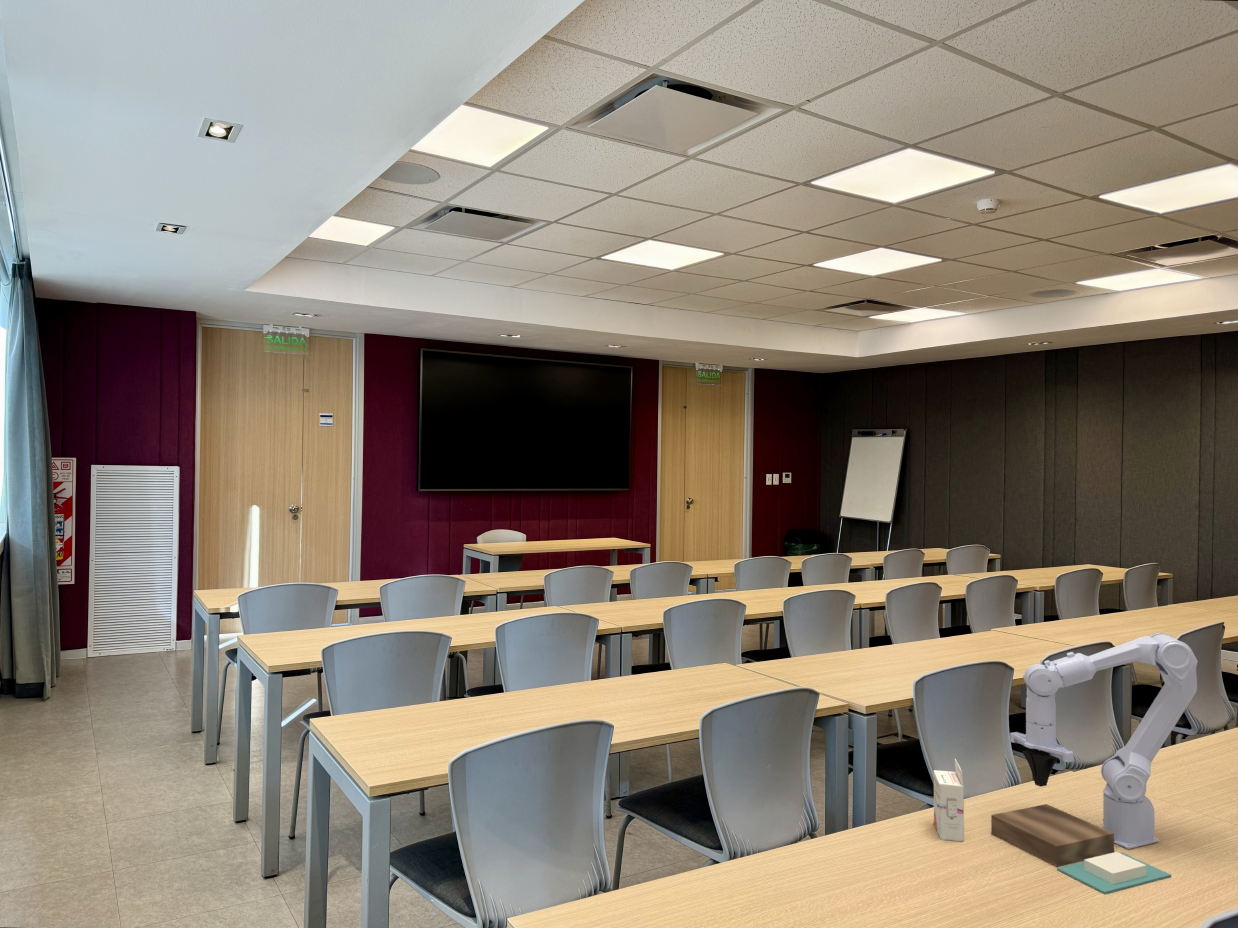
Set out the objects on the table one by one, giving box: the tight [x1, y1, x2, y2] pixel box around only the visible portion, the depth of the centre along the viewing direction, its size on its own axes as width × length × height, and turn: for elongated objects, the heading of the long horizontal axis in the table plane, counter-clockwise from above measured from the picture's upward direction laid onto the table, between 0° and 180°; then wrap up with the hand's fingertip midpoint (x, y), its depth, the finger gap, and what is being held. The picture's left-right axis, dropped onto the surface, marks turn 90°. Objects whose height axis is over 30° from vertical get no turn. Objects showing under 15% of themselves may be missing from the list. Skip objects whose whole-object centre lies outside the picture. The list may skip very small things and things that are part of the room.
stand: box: [990, 804, 1115, 868], centre depth 172 cm, size 16×16×4 cm
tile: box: [1083, 851, 1146, 884], centre depth 158 cm, size 9×6×2 cm, turn 112°
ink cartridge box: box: [933, 758, 965, 842], centre depth 177 cm, size 9×5×15 cm, turn 168°
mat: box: [1056, 852, 1172, 895], centre depth 159 cm, size 18×10×1 cm, turn 112°
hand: (1040, 784), depth 179 cm, fingers closed
